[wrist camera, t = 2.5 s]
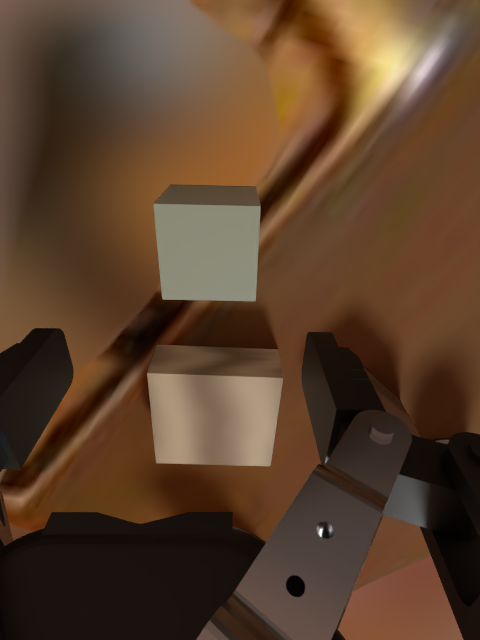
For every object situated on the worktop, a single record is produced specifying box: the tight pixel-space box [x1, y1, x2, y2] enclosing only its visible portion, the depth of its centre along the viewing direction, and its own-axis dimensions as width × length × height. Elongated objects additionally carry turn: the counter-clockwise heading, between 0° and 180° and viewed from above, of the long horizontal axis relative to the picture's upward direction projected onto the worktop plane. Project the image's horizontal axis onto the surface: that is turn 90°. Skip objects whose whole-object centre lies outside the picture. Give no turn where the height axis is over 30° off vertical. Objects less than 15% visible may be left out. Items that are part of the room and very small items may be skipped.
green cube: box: [153, 185, 260, 301], centre depth 22 cm, size 6×6×6 cm
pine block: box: [147, 345, 283, 466], centre depth 31 cm, size 10×10×4 cm
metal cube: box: [364, 368, 420, 437], centre depth 30 cm, size 6×6×6 cm
